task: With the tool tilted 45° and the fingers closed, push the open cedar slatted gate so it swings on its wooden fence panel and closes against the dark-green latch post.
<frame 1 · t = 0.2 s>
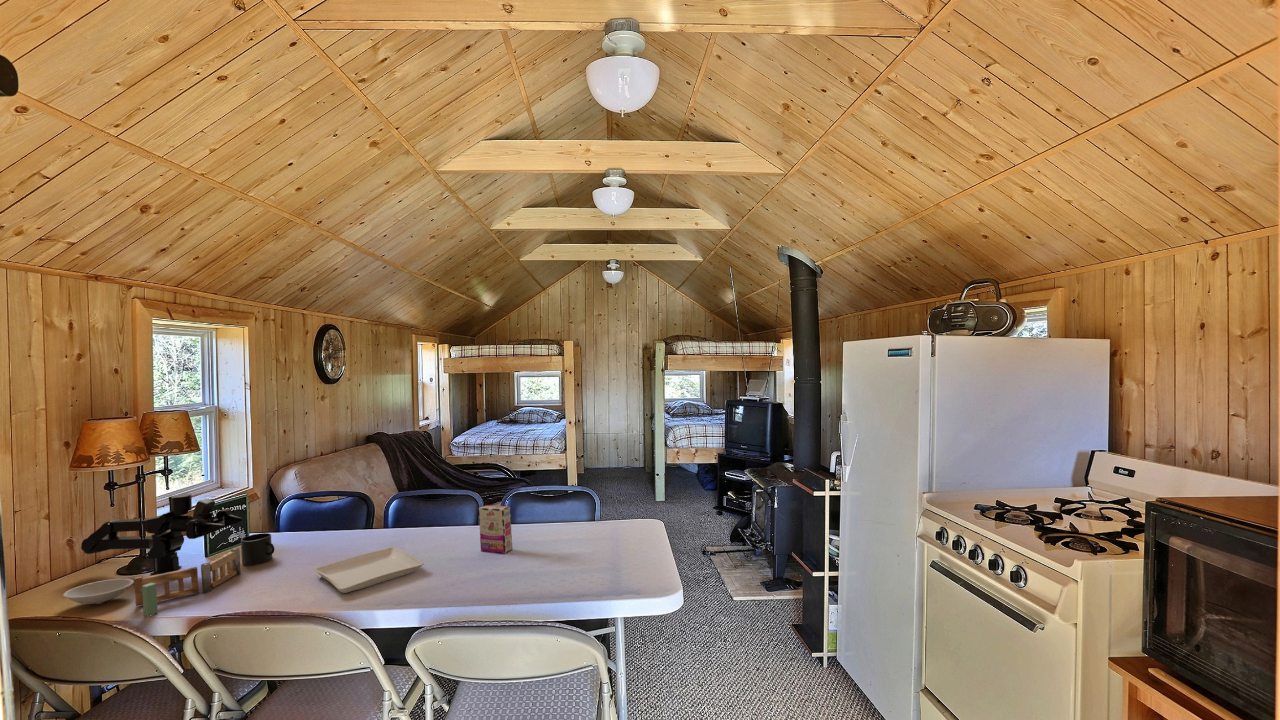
hand: (233, 523, 209), 16 cm above the table, tool horizontal, fingers open, 9 cm apart
mug: (260, 561, 216), on the table
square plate: (369, 576, 197), on the table
gate: (167, 585, 183), point 5 cm above the table, hinge at 0.0°
latch post: (150, 614, 173), on the table
dish: (100, 603, 183), on the table
candy bar box: (496, 551, 216), on the table
wooden fence panel: (207, 591, 189), on the table
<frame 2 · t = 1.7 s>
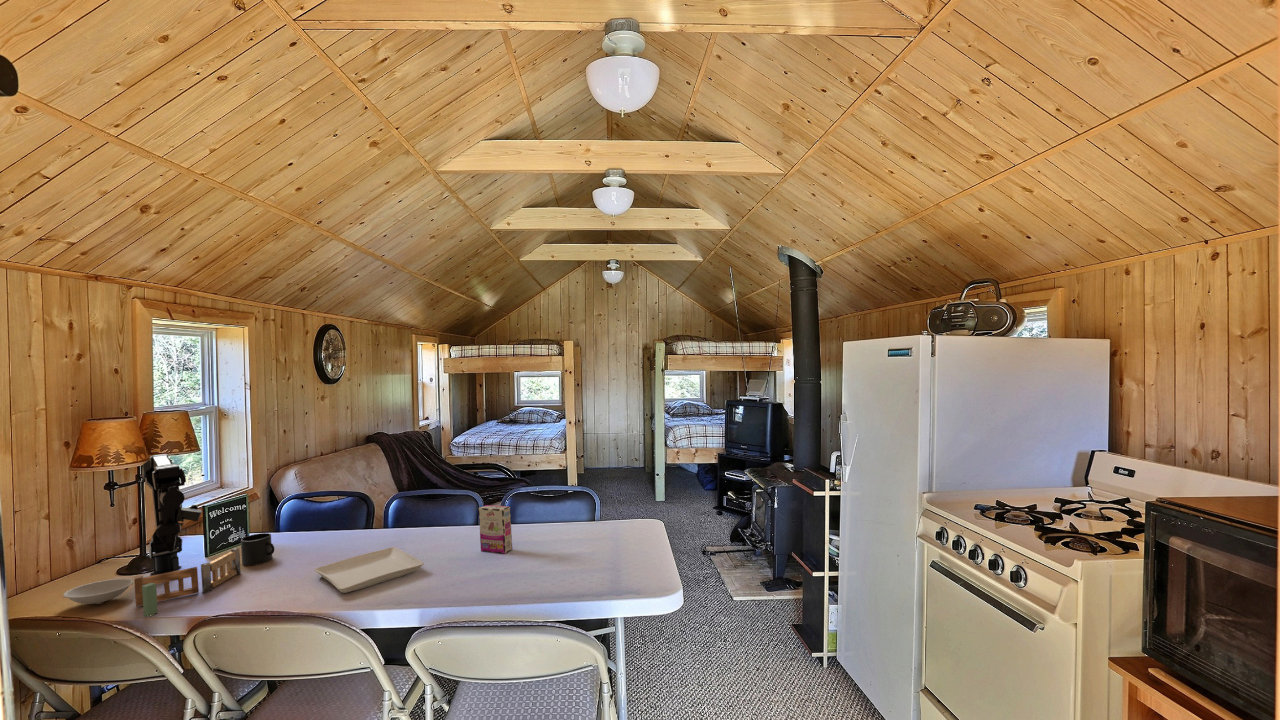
hand: (172, 549, 196), 12 cm above the table, tool pointing down, fingers open, 6 cm apart
nothing on the table moved.
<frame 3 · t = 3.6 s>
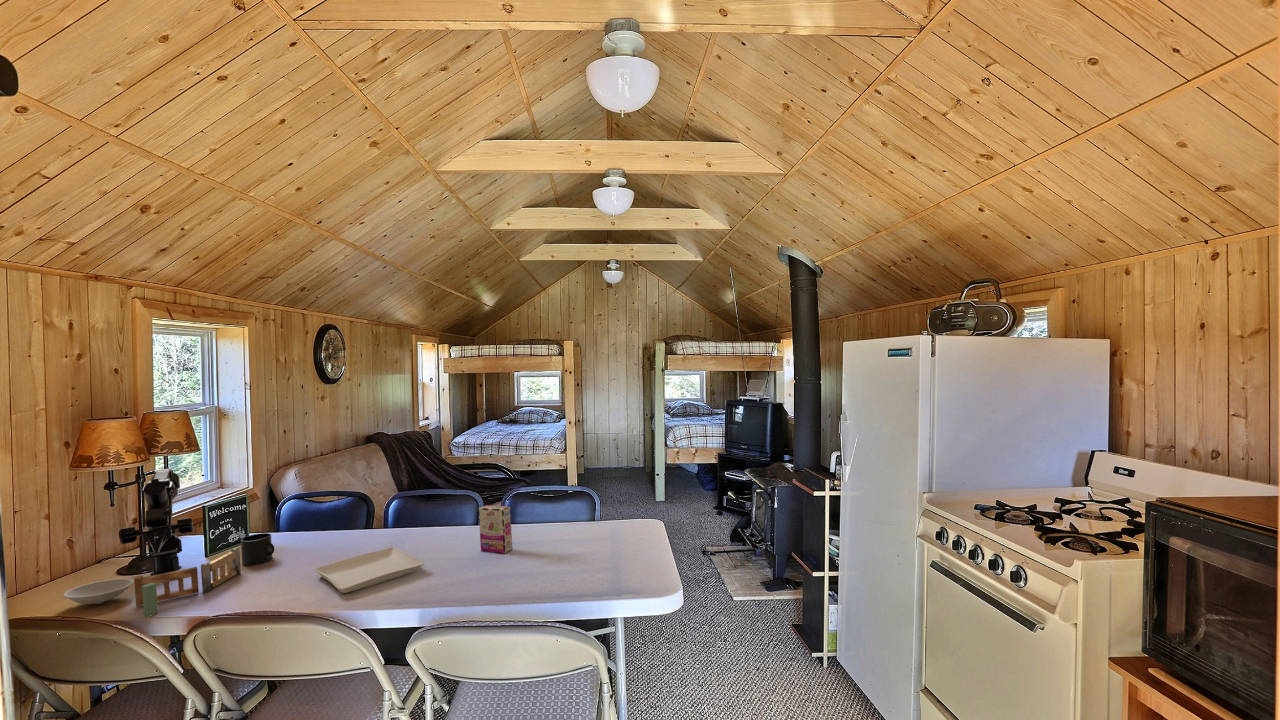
hand: (156, 552, 189), 13 cm above the table, tool tilted 45°, fingers closed
nothing on the table moved.
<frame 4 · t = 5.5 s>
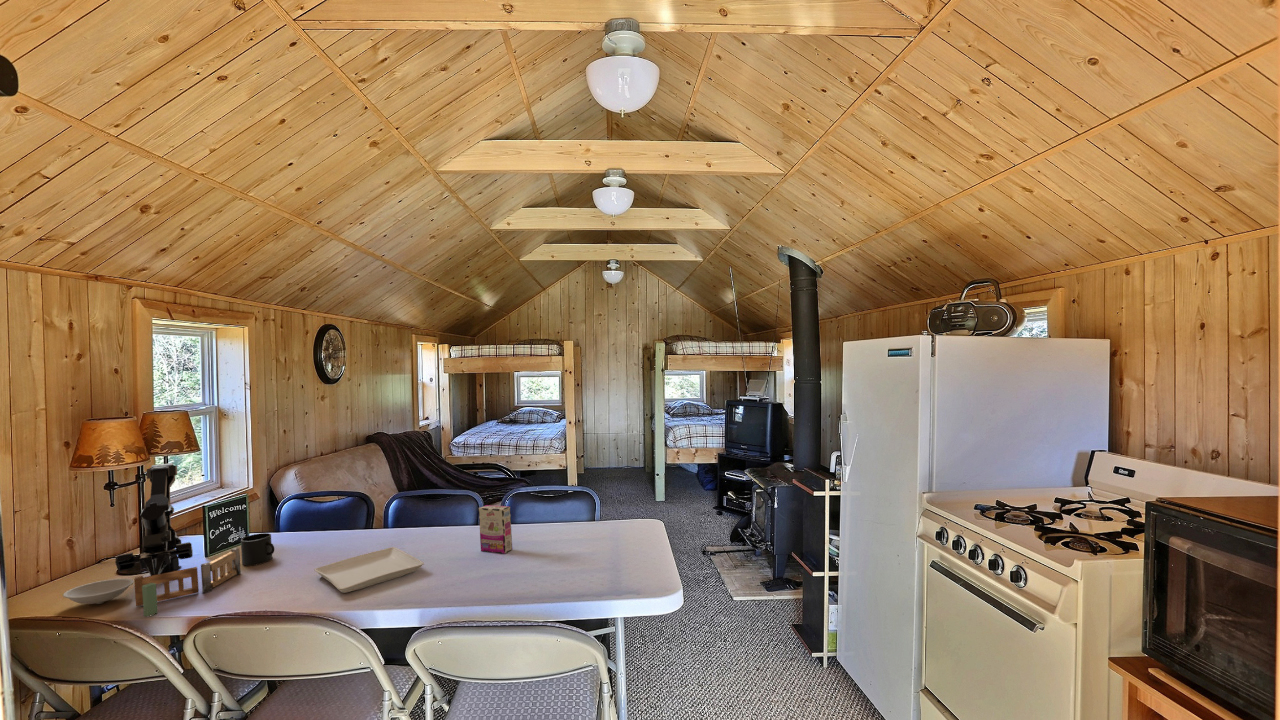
hand: (154, 580, 182), 7 cm above the table, tool tilted 45°, fingers closed, pressing on gate
gate: (167, 585, 183), point 5 cm above the table, hinge at 0.0°, touching gripper
everything else where it was.
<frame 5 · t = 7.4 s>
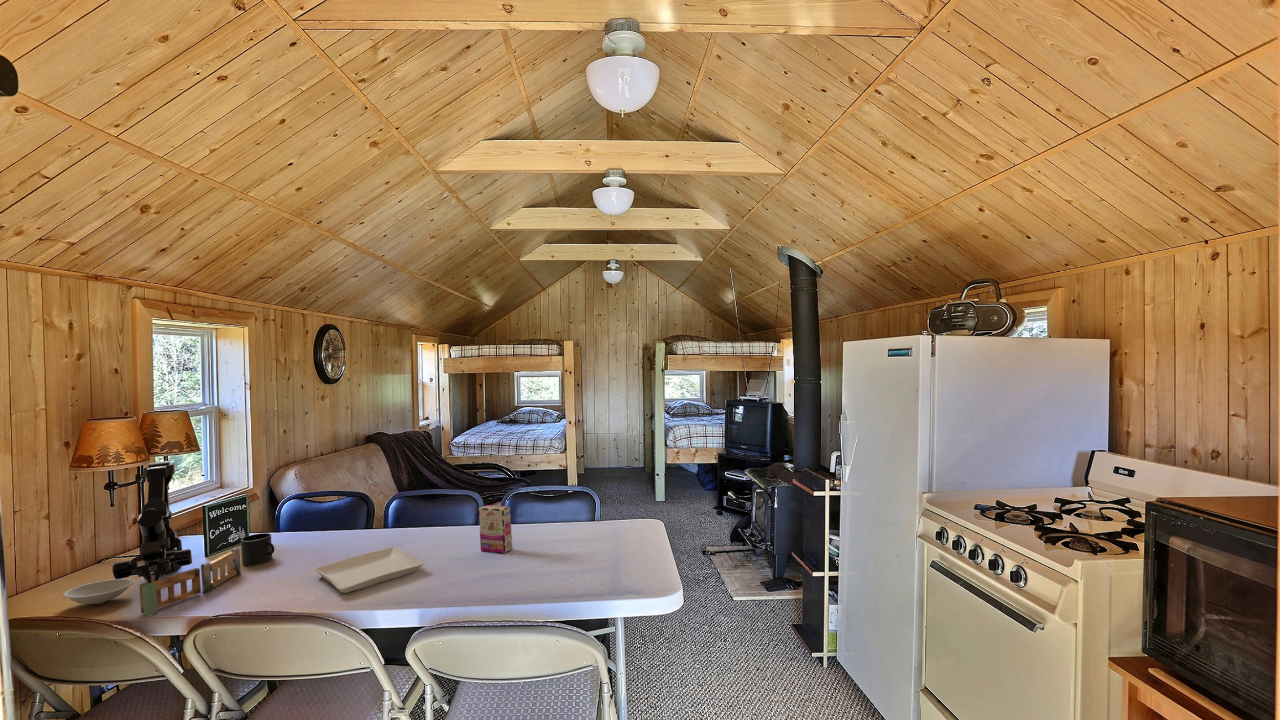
hand: (153, 588, 177), 6 cm above the table, tool tilted 45°, fingers closed
gate: (171, 589, 180), point 5 cm above the table, hinge at 30.5°, touching gripper, latch post
everything else where it was.
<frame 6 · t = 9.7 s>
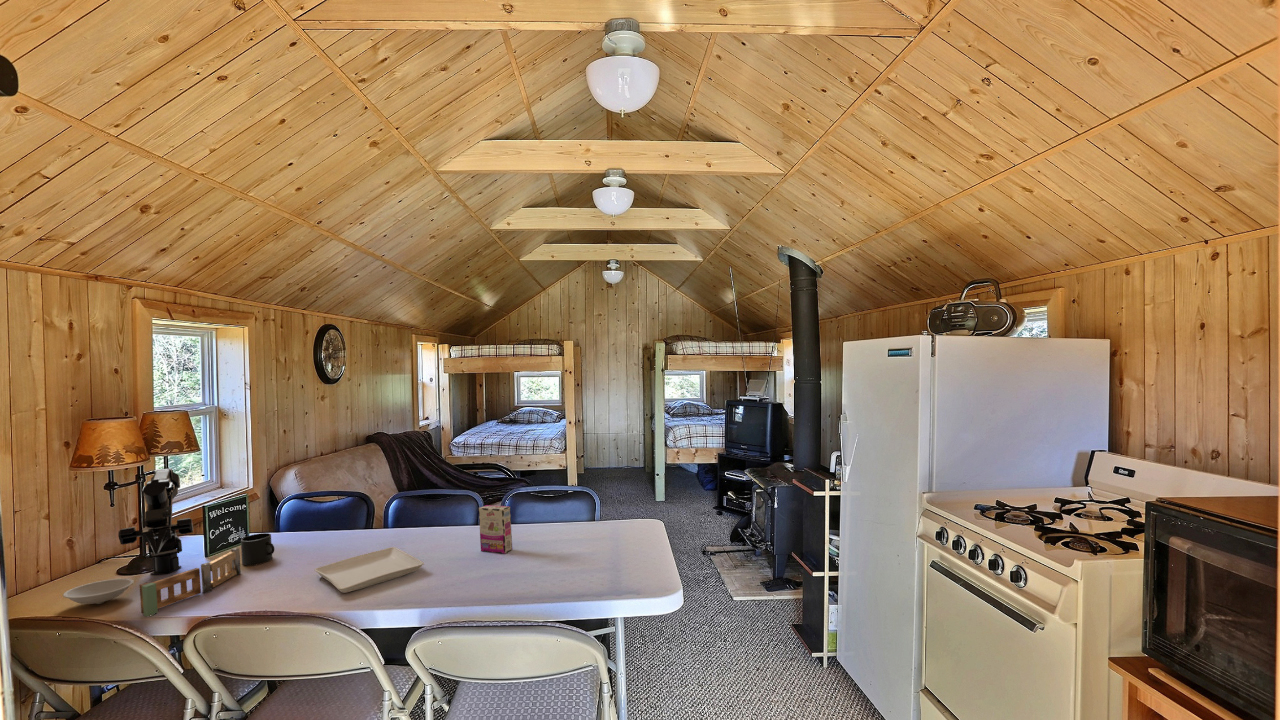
hand: (156, 553, 188), 13 cm above the table, tool tilted 45°, fingers closed
gate: (171, 589, 180), point 5 cm above the table, hinge at 30.5°, touching latch post
everything else where it was.
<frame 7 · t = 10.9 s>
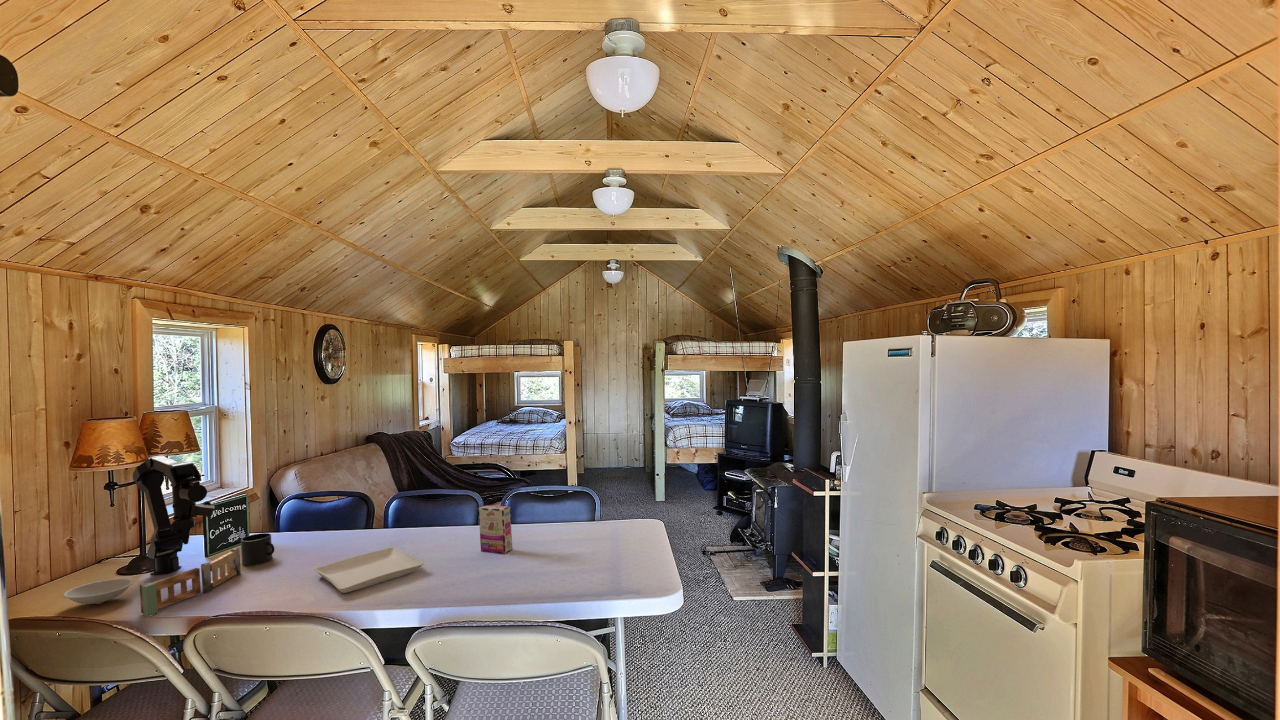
hand: (186, 544, 201), 12 cm above the table, tool pointing down, fingers closed
nothing on the table moved.
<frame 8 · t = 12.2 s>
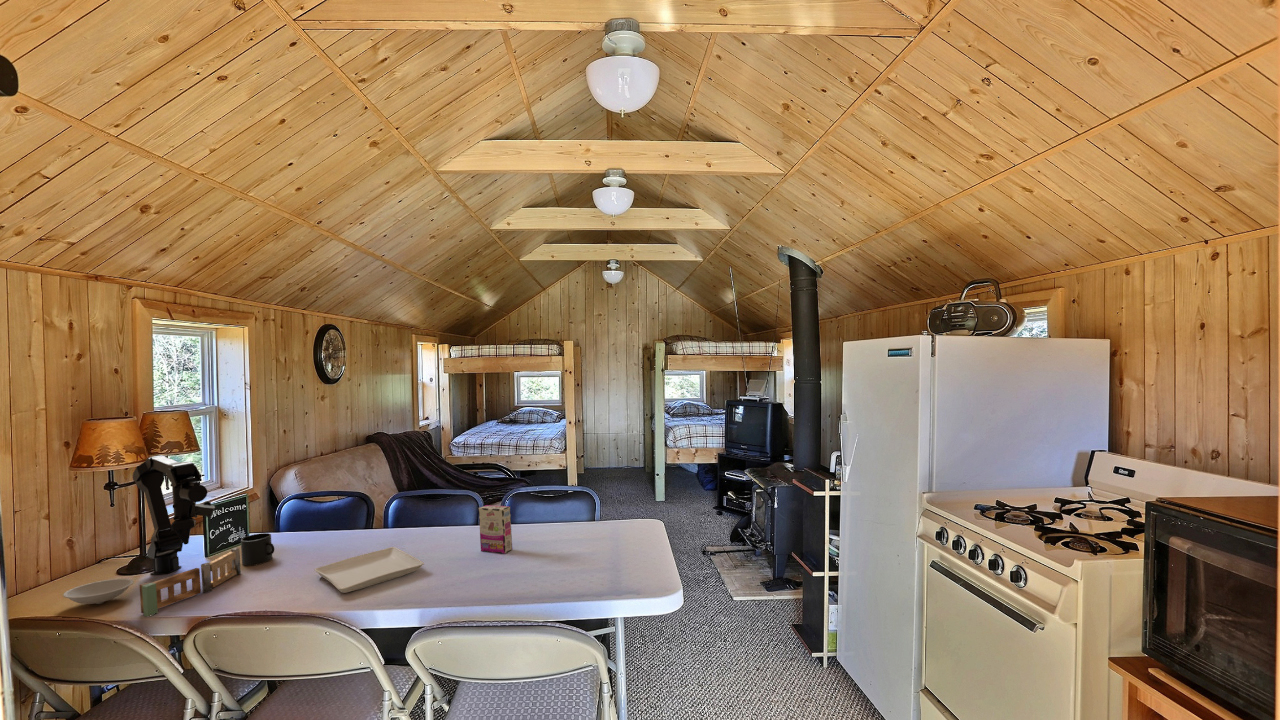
hand: (186, 544, 201), 12 cm above the table, tool pointing down, fingers closed
nothing on the table moved.
at the end: gate at +30° (first picture: +0°); gate 0.0 cm from the wooden fence panel (horizontally) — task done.
